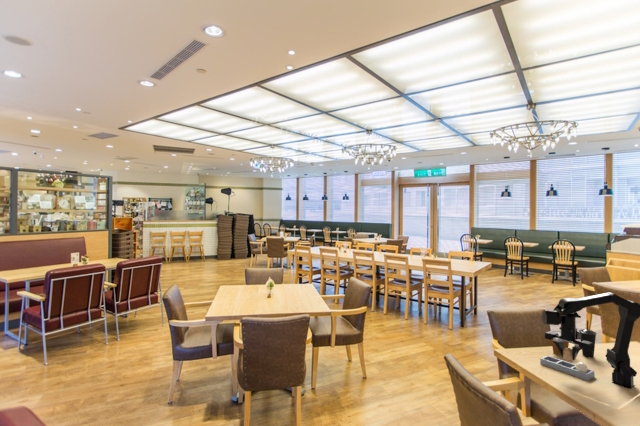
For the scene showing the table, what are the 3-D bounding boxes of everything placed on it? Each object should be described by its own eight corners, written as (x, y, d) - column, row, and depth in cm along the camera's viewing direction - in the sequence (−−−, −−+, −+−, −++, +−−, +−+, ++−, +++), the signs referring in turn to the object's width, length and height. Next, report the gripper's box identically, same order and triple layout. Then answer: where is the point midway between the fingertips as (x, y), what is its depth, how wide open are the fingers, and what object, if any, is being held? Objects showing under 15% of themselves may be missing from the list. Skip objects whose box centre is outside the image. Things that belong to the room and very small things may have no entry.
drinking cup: (583, 358, 180) (582, 321, 181) (576, 352, 187) (576, 317, 188) (599, 359, 178) (599, 323, 178) (592, 354, 185) (592, 319, 186)
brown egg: (575, 361, 155) (575, 348, 155) (571, 363, 153) (571, 350, 153) (565, 358, 158) (565, 345, 159) (561, 360, 156) (561, 347, 157)
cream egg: (589, 376, 158) (588, 363, 158) (585, 378, 156) (584, 365, 156) (578, 372, 161) (578, 360, 161) (574, 374, 159) (574, 361, 159)
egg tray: (594, 378, 157) (594, 370, 157) (587, 381, 153) (587, 374, 153) (547, 362, 175) (547, 355, 175) (540, 365, 171) (540, 358, 171)
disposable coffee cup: (570, 359, 178) (570, 337, 179) (549, 355, 184) (549, 333, 184) (570, 353, 186) (570, 332, 186) (550, 349, 192) (549, 329, 192)
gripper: (599, 328, 152) (600, 362, 152) (554, 318, 168) (555, 348, 168) (588, 332, 146) (589, 367, 146) (543, 321, 163) (543, 352, 162)
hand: (568, 358), depth 156 cm, fingers closed on brown egg, 4 cm apart
